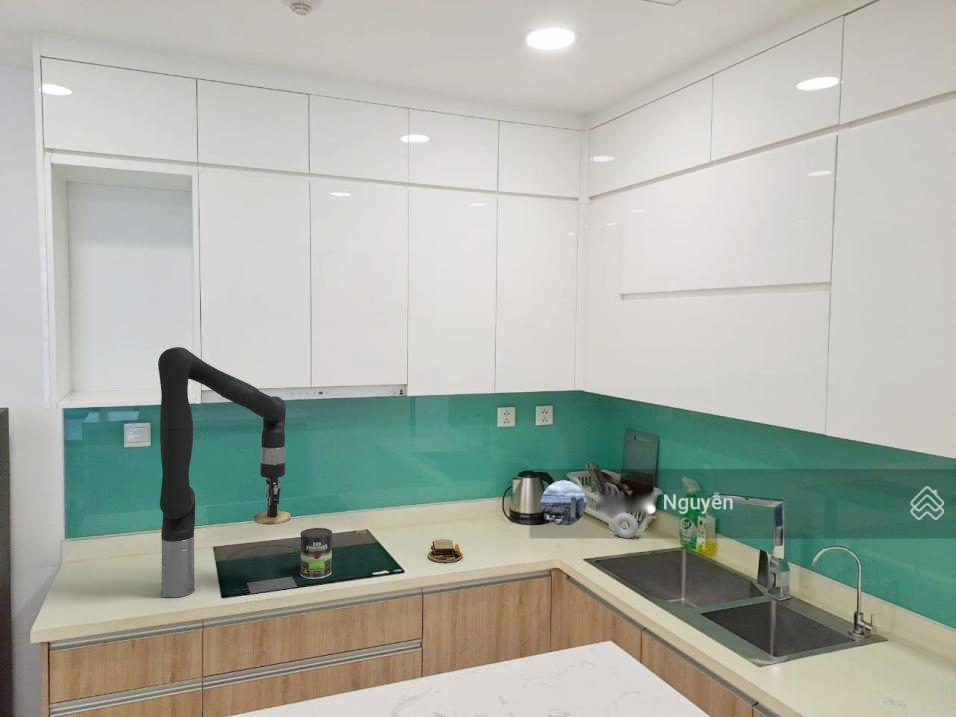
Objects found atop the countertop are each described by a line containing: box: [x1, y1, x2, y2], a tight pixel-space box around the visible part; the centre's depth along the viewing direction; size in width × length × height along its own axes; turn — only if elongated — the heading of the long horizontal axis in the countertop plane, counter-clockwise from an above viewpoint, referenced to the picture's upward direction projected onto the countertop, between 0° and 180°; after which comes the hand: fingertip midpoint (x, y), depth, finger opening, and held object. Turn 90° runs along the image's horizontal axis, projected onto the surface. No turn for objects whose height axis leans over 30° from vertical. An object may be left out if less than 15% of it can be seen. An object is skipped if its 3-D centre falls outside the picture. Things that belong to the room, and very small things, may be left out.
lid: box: [253, 502, 291, 526], centre depth 216 cm, size 11×11×5 cm
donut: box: [612, 512, 639, 539], centre depth 272 cm, size 10×4×10 cm, turn 66°
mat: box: [246, 576, 298, 594], centre depth 218 cm, size 14×9×1 cm, turn 115°
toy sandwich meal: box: [427, 538, 463, 564], centre depth 247 cm, size 12×14×5 cm
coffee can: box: [299, 527, 333, 580], centre depth 228 cm, size 10×10×14 cm
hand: (272, 514), depth 216 cm, fingers closed on lid, 3 cm apart
